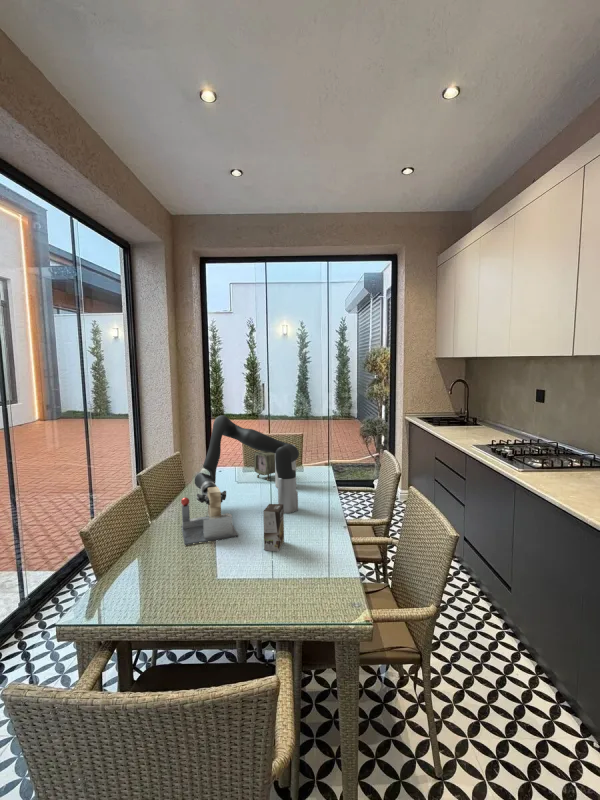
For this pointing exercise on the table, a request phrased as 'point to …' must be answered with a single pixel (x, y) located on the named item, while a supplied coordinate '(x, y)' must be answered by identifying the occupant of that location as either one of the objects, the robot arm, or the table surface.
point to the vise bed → (198, 535)
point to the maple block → (214, 501)
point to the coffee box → (273, 527)
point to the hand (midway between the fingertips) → (214, 501)
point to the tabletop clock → (264, 463)
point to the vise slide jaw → (186, 517)
